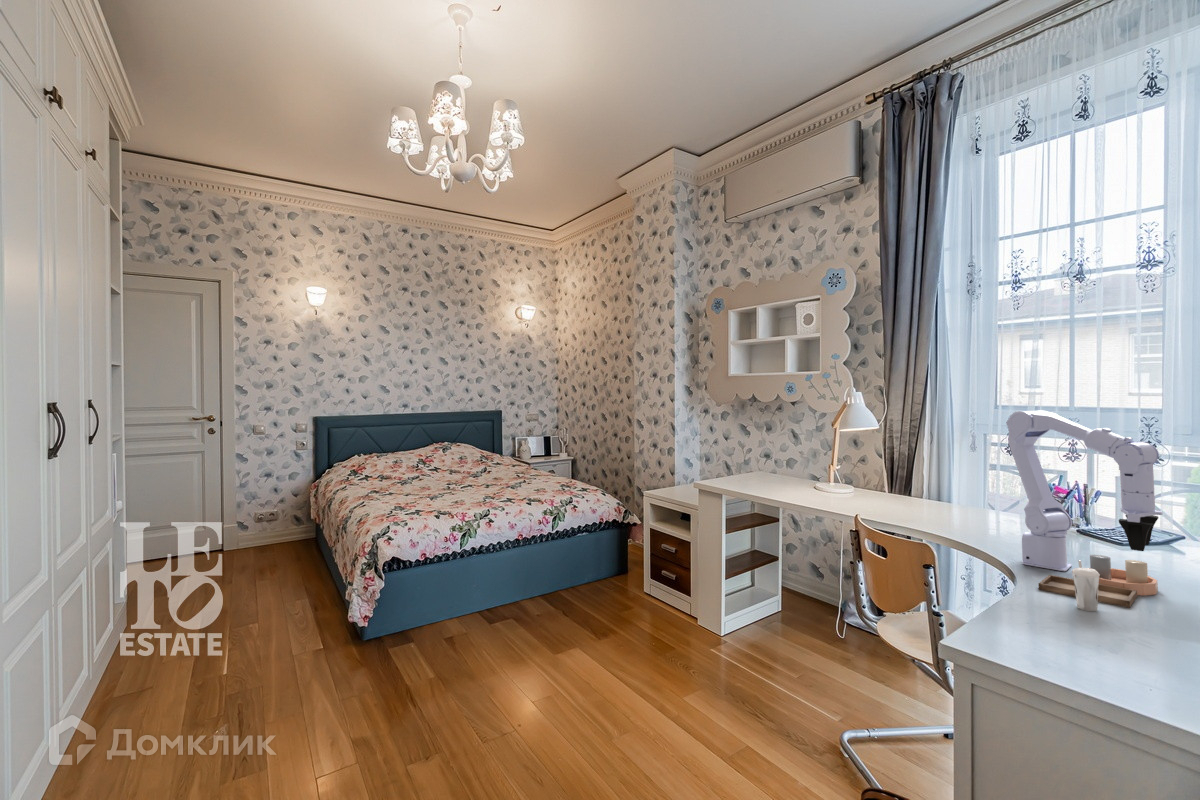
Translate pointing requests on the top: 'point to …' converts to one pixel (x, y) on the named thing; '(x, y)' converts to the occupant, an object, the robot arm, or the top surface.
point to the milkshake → (1086, 587)
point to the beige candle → (1136, 571)
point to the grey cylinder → (1101, 565)
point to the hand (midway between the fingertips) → (1140, 547)
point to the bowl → (1120, 581)
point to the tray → (1104, 591)
